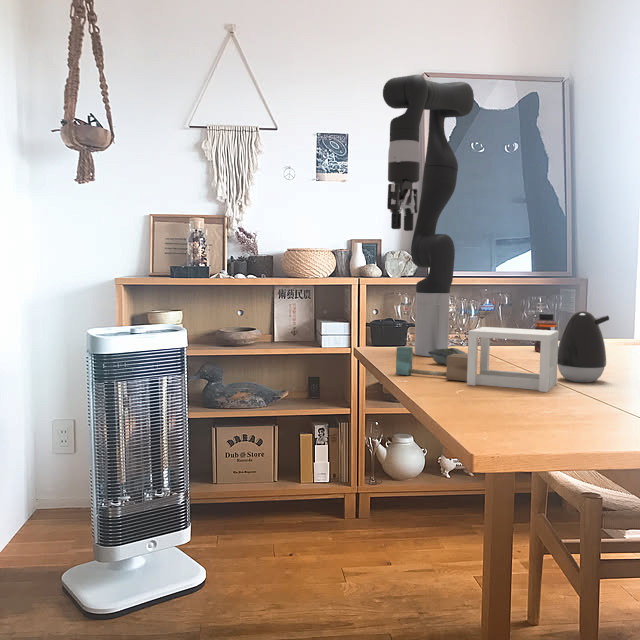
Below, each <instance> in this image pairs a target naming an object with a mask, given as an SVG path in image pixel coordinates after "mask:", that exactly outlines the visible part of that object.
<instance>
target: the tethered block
mask: <svg viewBox="0 0 640 640" xmlns="http://www.w3.org/2000/svg"><path fill="white" fill-rule="evenodd" d="M413 349H414V347H413V346H402V345H401V346H398V347H396V352H395V353H396V360H395V375H402V376H409V375H412V374H414V375H421V376H422V375H425V376H434V377H435V376H436V377H444V378H445V380H450V381H451V380H452V381H463V382H467V365H468V355H463V354H452V355H449V356H447V365H446V370H445V371H438V370H428V369H427V370H424V369H414V368H413V358H414V357H413V354H414V353H413V351H414V350H413Z"/></svg>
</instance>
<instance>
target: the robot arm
mask: <svg viewBox="0 0 640 640" xmlns="http://www.w3.org/2000/svg"><path fill="white" fill-rule="evenodd" d="M382 98H383V101H384V102H385V104H386V105H387V106H388V107H389V108H391V109H396V110H397V109H398V110H399V109H406V110H405V111H404V113H403V114H401V115H398V116H396V117H394V118H392V119H391V121H390V123H389V147H388V153H387V154H388V155H387V156H388V157H387V162H388V163H387V181H388V182H389V183H388V185H387V201H386V202H387V205H386V206H387V210H389V211H390V213H391V221H390V222H391V223H390V224H391V225H390V228H391V229H392V230H400V229H401V228H402V212H403V215H404V216H403V231H405V232H412V231H413V235H412V240H411V243H410V244H411V246H410V258H411V261H412V263H413V264H414V265H415V266H416V267H418V268H423V269H424V268H425V269H426V268H427V269H429V271H428V274H427V275H426V276H425V278H423V279H422V280H418V282H416V285H415V321H414V350H413V351H414V353H413V354H414V355H416V356H422V357H432V356H431V355H430V354H429V353H428V352H429V351H432V350H435V349H447V348H449V342H450V341H449V340H450V339H449V338H450V336H449V335H450V333H449V332H450V331H449V330H450V300H451V297H450V296H451V287H452V283H453V281H454V280H453V279H454V268H455V258H456V257H455V254H456V253H455V251H456V250H455V244H454V241H453V238H452V237H451V236H449V234H446V233H436V231H437V230H436V229H437V226H438V225H437V224H438V221H439V218H440V216H441V214H442V212H443V210H444V209H445V207H446V206H447V204H448V203H449V201H450V199H451V198H452V196H453V194H454V192H455V190H456V185H457V179H458V171H459V164H458V159H457V156H456V155H455V153H454V151H453V149H452V147H451V146H450V144H449V142H448V139H447V137H446V132H445V120H446V118H460V117H461V118H462V117H465V116H467V115H469V114H470V113H471V112H472V110H473V107H474V102H475V100H474V99H475V94H474V89H473V88H472V86H471V85H470V84H469V83H467V82H465V81H454V82H453V81H452V82H436V81H432V80H431V81H430V80H427V79H425V78H424V76H423V75H420V74H411V75H405V76H397V77H392V78H390V79H388V80H387V81H386V82H385V84H384V85H383V89H382ZM427 110H428V111H429V113H428V114H429V115H428V118H429V119H428V137H427V143H426V152H425V153H426V154H425V159H424V166H423V171H422V172H423V174H422V182H421V193H420V200H419V205H418V189H417V188H413V183H414V184H415V183H418V182H419V181H420V168H421V167H420V164H421V163H420V161H421V159H420V158H421V149H420V124H421V121H422V118H423V113H424V111H427ZM416 214H417V217H416V221H415V226H414V216H415V215H416Z"/></svg>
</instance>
